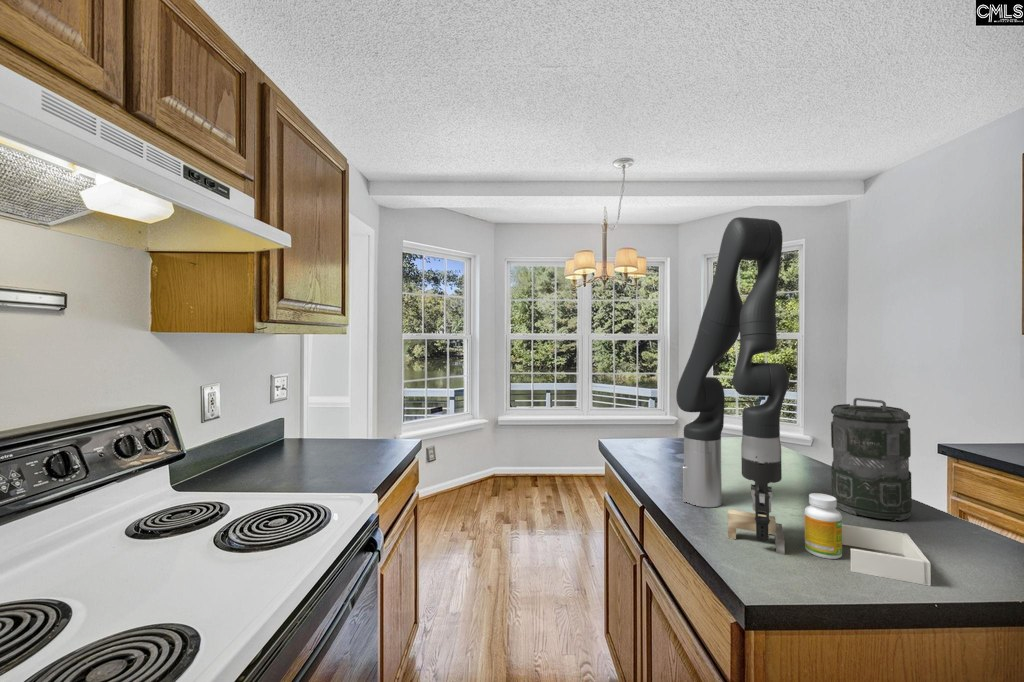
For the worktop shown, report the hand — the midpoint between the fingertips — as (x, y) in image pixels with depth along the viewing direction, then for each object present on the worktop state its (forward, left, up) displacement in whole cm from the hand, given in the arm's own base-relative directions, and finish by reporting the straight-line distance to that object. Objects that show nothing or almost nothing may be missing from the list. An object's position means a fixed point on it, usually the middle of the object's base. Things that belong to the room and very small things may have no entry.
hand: (761, 532), depth 98 cm
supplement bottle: (+11, 0, -2) cm, 11 cm away
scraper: (-2, 0, -2) cm, 3 cm away
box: (+20, 0, -2) cm, 20 cm away
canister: (+24, +33, -2) cm, 41 cm away
